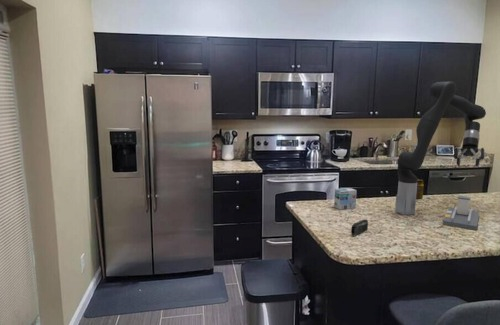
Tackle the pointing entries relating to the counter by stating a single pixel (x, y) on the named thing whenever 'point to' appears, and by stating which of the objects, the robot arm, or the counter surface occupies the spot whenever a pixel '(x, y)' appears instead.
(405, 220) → the counter surface
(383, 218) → the counter surface
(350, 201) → the light bulb box
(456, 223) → the switch board
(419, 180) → the condiment
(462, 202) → the slider tab
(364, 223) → the mobile phone
